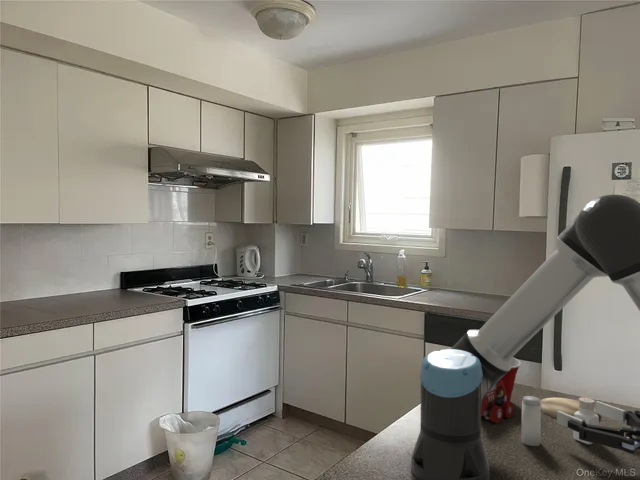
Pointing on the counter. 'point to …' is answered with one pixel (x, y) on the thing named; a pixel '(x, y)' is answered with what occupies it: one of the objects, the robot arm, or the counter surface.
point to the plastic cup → (511, 377)
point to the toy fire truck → (497, 403)
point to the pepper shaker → (586, 415)
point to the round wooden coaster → (560, 406)
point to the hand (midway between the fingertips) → (577, 411)
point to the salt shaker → (531, 421)
